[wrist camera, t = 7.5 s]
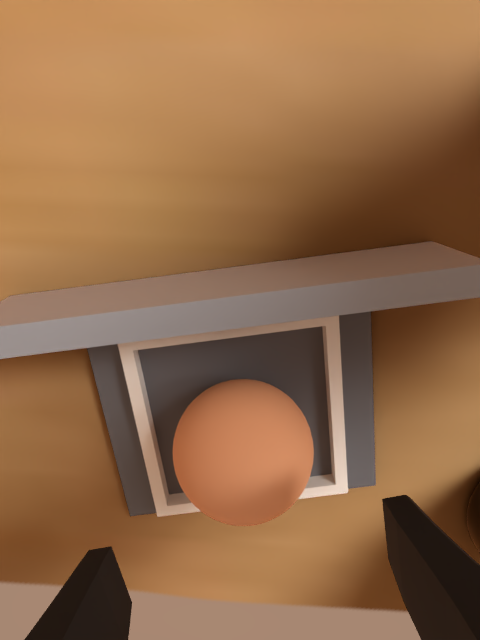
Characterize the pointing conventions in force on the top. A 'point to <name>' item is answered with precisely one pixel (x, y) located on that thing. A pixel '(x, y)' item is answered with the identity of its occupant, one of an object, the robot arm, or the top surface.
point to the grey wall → (236, 298)
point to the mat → (229, 364)
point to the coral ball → (243, 452)
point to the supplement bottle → (474, 517)
